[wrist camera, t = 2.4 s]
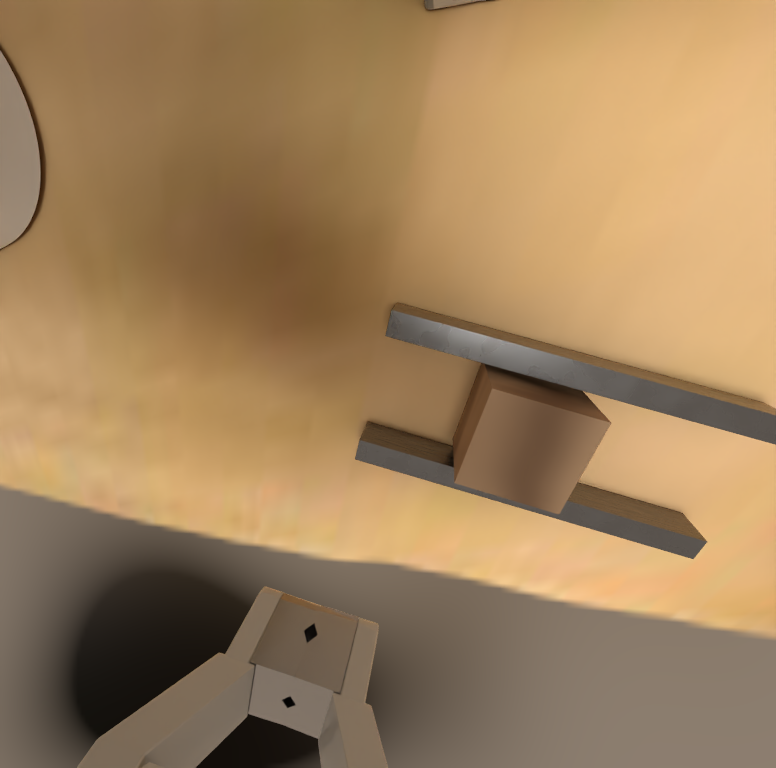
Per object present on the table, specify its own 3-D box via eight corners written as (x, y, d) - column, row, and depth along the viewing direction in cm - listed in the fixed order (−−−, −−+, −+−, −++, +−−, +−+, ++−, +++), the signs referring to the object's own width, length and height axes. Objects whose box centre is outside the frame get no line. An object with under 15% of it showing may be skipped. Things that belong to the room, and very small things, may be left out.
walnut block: (452, 438, 25) (454, 483, 20) (482, 358, 23) (492, 388, 18) (538, 463, 25) (558, 514, 20) (577, 385, 22) (611, 422, 18)
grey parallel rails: (363, 439, 26) (355, 459, 24) (397, 302, 22) (391, 309, 20) (670, 529, 25) (693, 558, 23) (763, 402, 21) (802, 422, 19)
